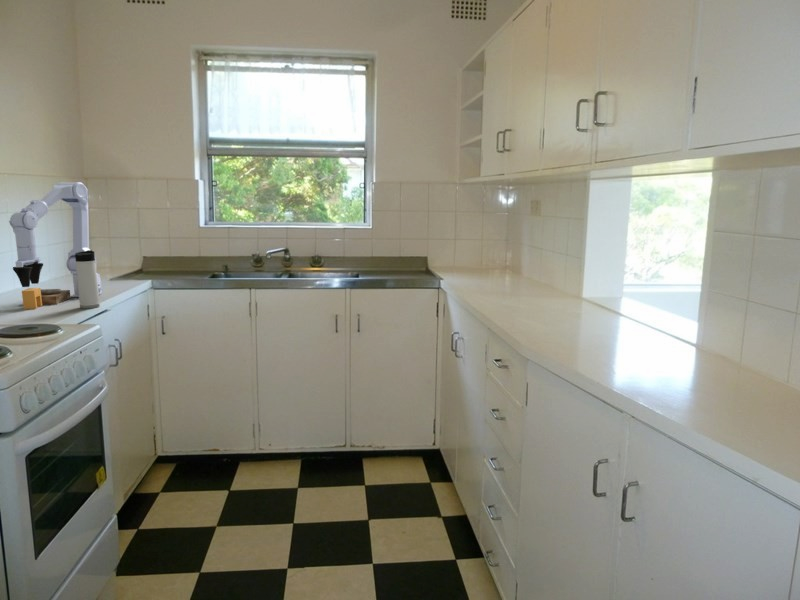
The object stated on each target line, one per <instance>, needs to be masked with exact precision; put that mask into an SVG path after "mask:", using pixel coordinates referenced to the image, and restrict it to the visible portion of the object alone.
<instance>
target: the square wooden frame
mask: <svg viewBox="0 0 800 600" xmlns="http://www.w3.org/2000/svg"><path fill="white" fill-rule="evenodd" d="M40 289H41V288H40ZM41 298H42V306H43V305H47V306H48V305H58V304H61V303H62V302H64V301H66V300H68V299H70V298H72V297H71V290H69V289H63V290H62V289H61V288H47V289H46V288H45V289H41Z"/></svg>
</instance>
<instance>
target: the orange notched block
mask: <svg viewBox="0 0 800 600" xmlns="http://www.w3.org/2000/svg"><path fill="white" fill-rule="evenodd" d="M21 297H22V303H23V305H22V306H23V310H34V309H35V310H36V309H38V308H39V307H43V305H42V298H41V287H38V288H37V287H35V288H33V287H32V288H29V287H28V288H26V289H24V290H21Z"/></svg>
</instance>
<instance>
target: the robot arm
mask: <svg viewBox="0 0 800 600" xmlns="http://www.w3.org/2000/svg"><path fill="white" fill-rule="evenodd" d="M88 191H89V189H88V188H87V187H86V185H85V184H84V183H83V182H80V181H77V182H61V181H60V182H57V183H56V184H55V185H52V189H51V190H50V191H49V192H48V193H46V195H45V196H43V198H41V199H40V200H38V199H35V200H33V199H32V200H31V201H30V202H29V204H28V205H26V207H22V208H21V210H20V211H18V212H14V213H13V214H12V215H11V216H10V218H9V221H8V223H9V225H10V226H11V228H12V231H13V233H14V237H15V243H16V244H15V245H16V252H17V253H16V254H17V261H15V262H14V263H15V266H13V267H12V270H13V272H15V274H16V276H17V277H18V279H19V282H20V283H19V284H20V285H21V288H29V287H30V286H31V285H33V284H34V285H35V284H36V285H37V284H39V282H40V276H41V272H42V269H43V266H44V263H43V262H41V260H42V259H41V258H40V257H39V256H38V255H37V247H36V237H35V236H36V235H35V229H34V228H36V227H37V225H38V221H39V220H41V219H42V218H43V217H44V216H45V215H47V214H48V212H49V208H50V207H51V206H53V205H55V204H56V203H57V202H59V201H63V202H64V203H66V204H68V205H69V206H70V207H71V208H72V237H73V238H72V246H73V247H72V249H71V250H69V252H68V253H67V259H66V268H67V270H68V271H69V272H70V274H72V283H73V292H74V294H72V295H70V297H71V298H79V292H78V282H77V272H76V262H75V261H76V260H75V259H76V258H75V253H78V252H83V251H87V250H91V249H90V237H89V236H90V234H89V232H90V231H89V229H90V228H89V227H90V225H89V220H90V219H89V197H88V196H89V195H88ZM95 262H96V269H97V267H98V261H97V258H96V257H95ZM97 283H98V293H99V296H100V295H102V294H103V291H102V290H103V289H102V279H101V275H100V273H97Z"/></svg>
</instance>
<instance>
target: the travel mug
mask: <svg viewBox="0 0 800 600" xmlns="http://www.w3.org/2000/svg"><path fill="white" fill-rule="evenodd" d="M75 258H76V259H75V260H76V261H75V262H76V272H77V282H78V292H79V297H78V301H79V307H80V309H84V310H86V309H88V310H89V309H96V308H99V307H100V306H101V303H100V295H99V293H98V283H97V268H96V262H95V258H96V253H95V251H93V250H91V249H90V250H87V251H83V252H78V253H75Z"/></svg>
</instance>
